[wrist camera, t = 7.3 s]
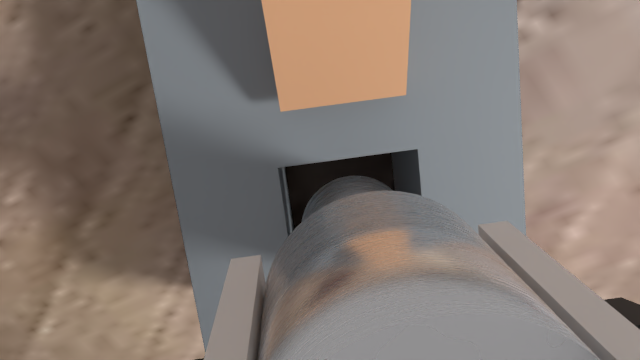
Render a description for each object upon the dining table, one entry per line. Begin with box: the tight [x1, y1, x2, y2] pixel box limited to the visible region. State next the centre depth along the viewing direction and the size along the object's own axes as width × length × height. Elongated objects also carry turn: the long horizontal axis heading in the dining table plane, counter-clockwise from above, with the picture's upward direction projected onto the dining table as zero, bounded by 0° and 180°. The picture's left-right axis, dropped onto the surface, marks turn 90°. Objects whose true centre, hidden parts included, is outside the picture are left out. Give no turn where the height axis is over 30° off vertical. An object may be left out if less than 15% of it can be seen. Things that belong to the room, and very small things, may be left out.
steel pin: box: [258, 175, 600, 360], centre depth 13 cm, size 6×6×12 cm
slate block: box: [136, 0, 526, 353], centre depth 21 cm, size 20×12×6 cm, turn 7°
